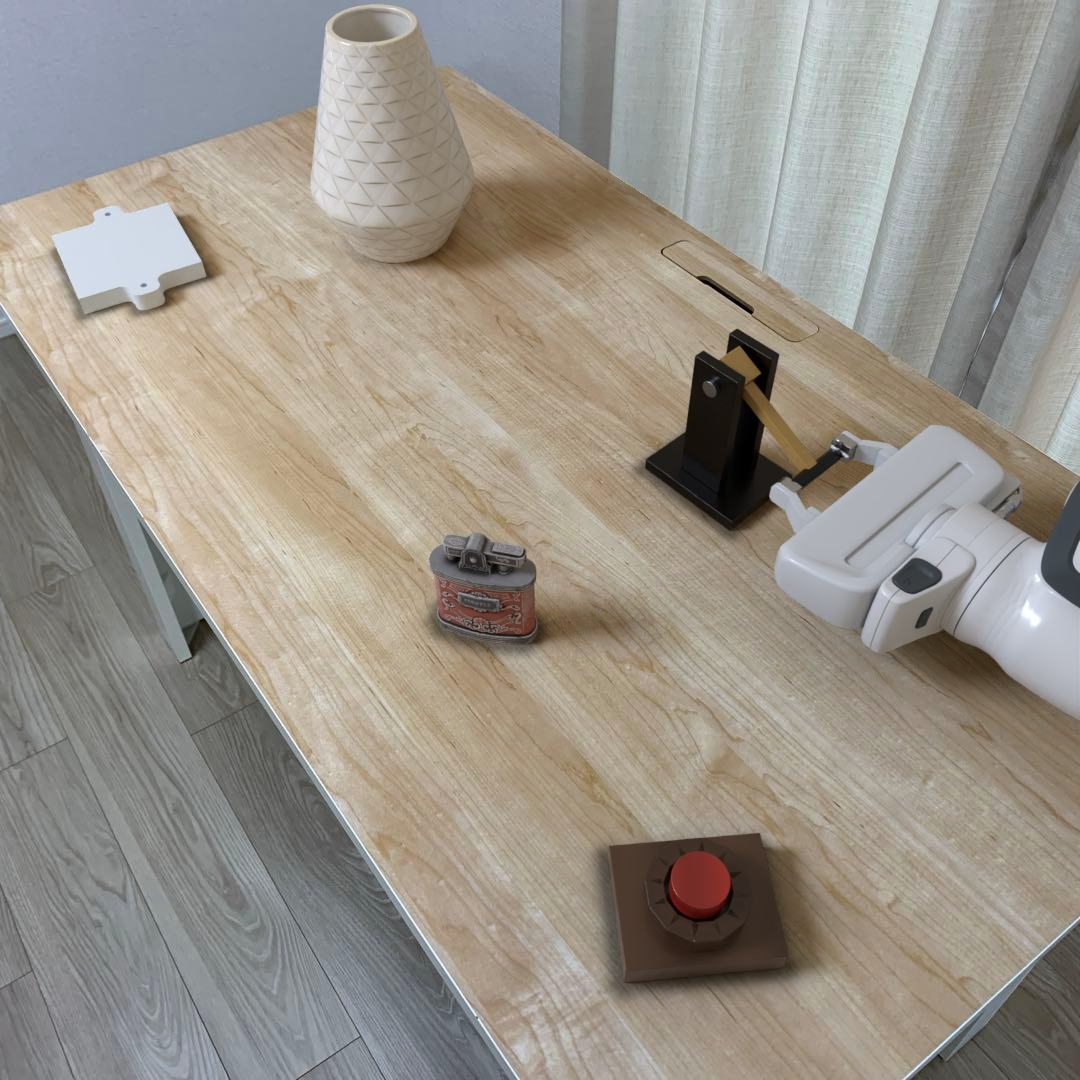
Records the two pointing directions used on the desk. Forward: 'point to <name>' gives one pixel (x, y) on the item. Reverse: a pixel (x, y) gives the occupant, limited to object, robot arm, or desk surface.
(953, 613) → the robot arm
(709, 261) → the desk surface
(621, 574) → the desk surface
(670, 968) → the button box
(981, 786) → the desk surface
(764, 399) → the switch lever
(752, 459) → the switch bracket
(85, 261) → the mounting plate
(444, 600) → the lighter
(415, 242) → the vase
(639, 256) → the desk surface
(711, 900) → the light button
